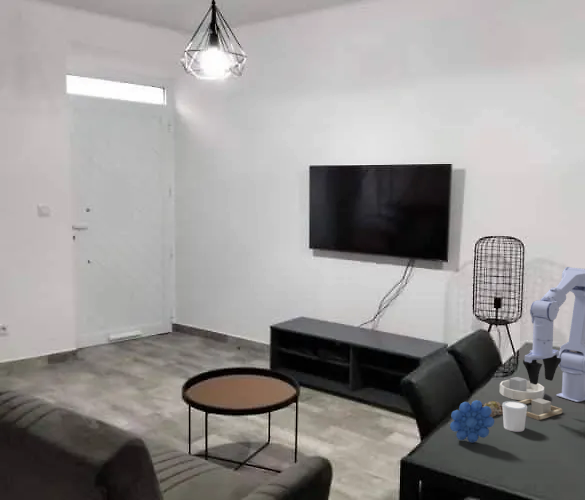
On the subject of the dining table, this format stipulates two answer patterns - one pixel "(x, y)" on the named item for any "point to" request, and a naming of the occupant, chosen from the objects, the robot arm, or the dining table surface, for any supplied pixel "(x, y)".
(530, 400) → the parts frame
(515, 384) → the matte grey cube
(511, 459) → the dining table surface
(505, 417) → the white cup
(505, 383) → the bowl
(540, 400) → the beige grey cube
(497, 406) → the mineral rock
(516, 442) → the dining table surface
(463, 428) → the blue knobbed flower
